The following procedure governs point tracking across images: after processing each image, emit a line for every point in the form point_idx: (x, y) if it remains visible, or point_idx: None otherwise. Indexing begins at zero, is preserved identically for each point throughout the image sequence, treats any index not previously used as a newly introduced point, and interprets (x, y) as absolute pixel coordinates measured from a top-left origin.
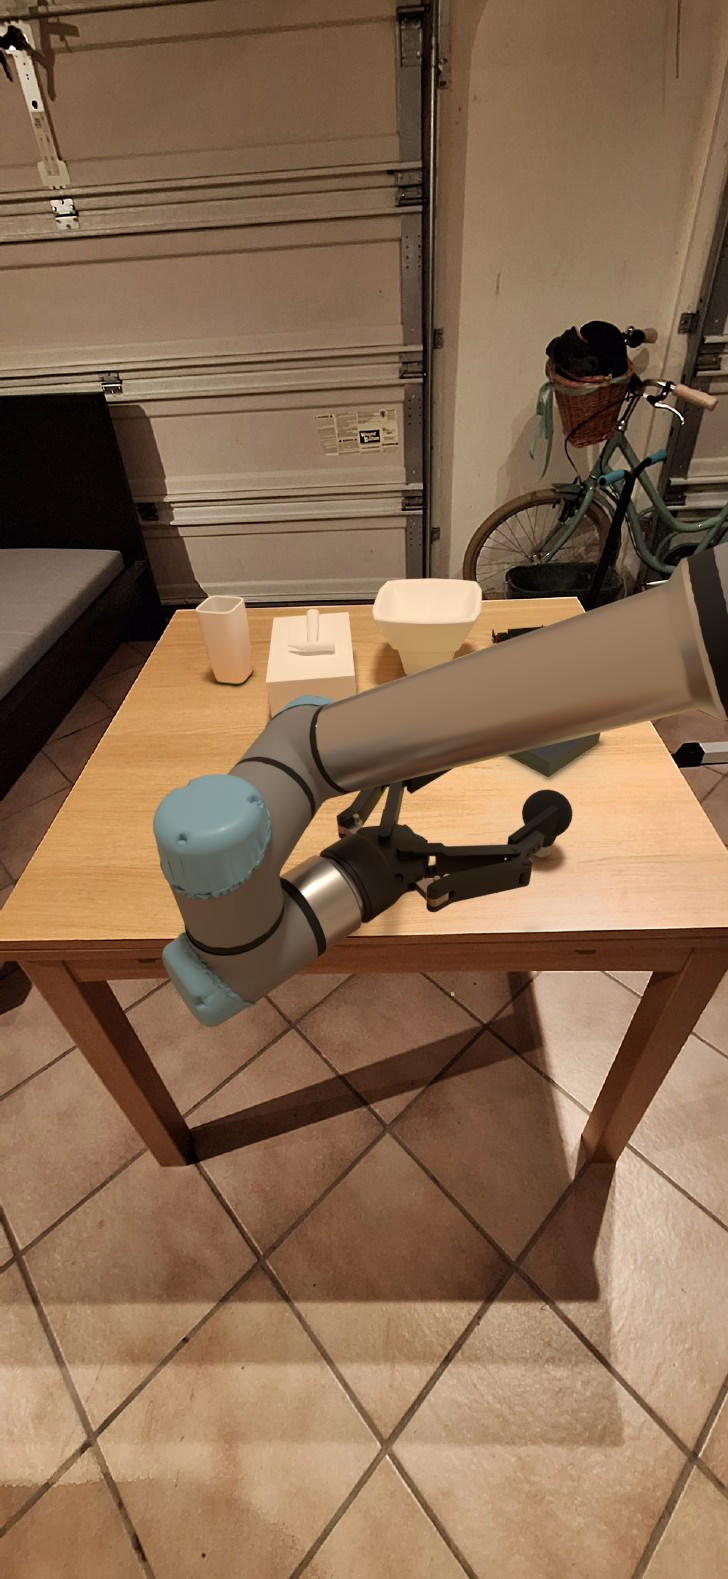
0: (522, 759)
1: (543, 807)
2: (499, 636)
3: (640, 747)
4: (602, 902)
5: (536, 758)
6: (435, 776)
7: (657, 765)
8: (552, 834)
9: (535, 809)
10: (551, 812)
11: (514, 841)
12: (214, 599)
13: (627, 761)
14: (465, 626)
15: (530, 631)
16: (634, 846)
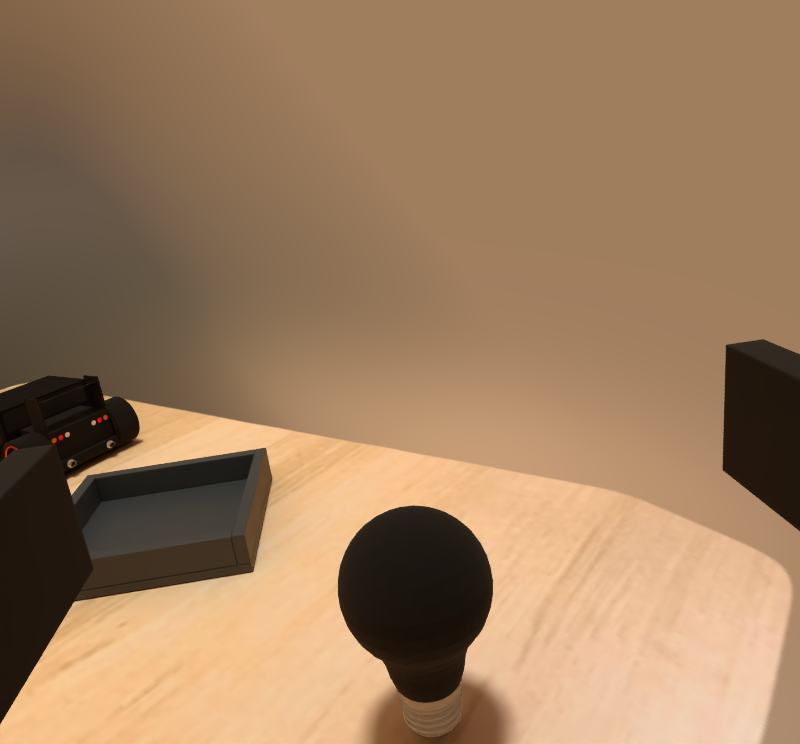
0: (170, 575)
1: (426, 555)
2: None
3: (337, 450)
4: (675, 705)
5: (205, 547)
6: (20, 655)
7: (389, 453)
8: (484, 621)
9: (408, 578)
10: (785, 355)
11: None
12: None
13: (345, 472)
14: None
15: (7, 395)
16: (536, 563)
